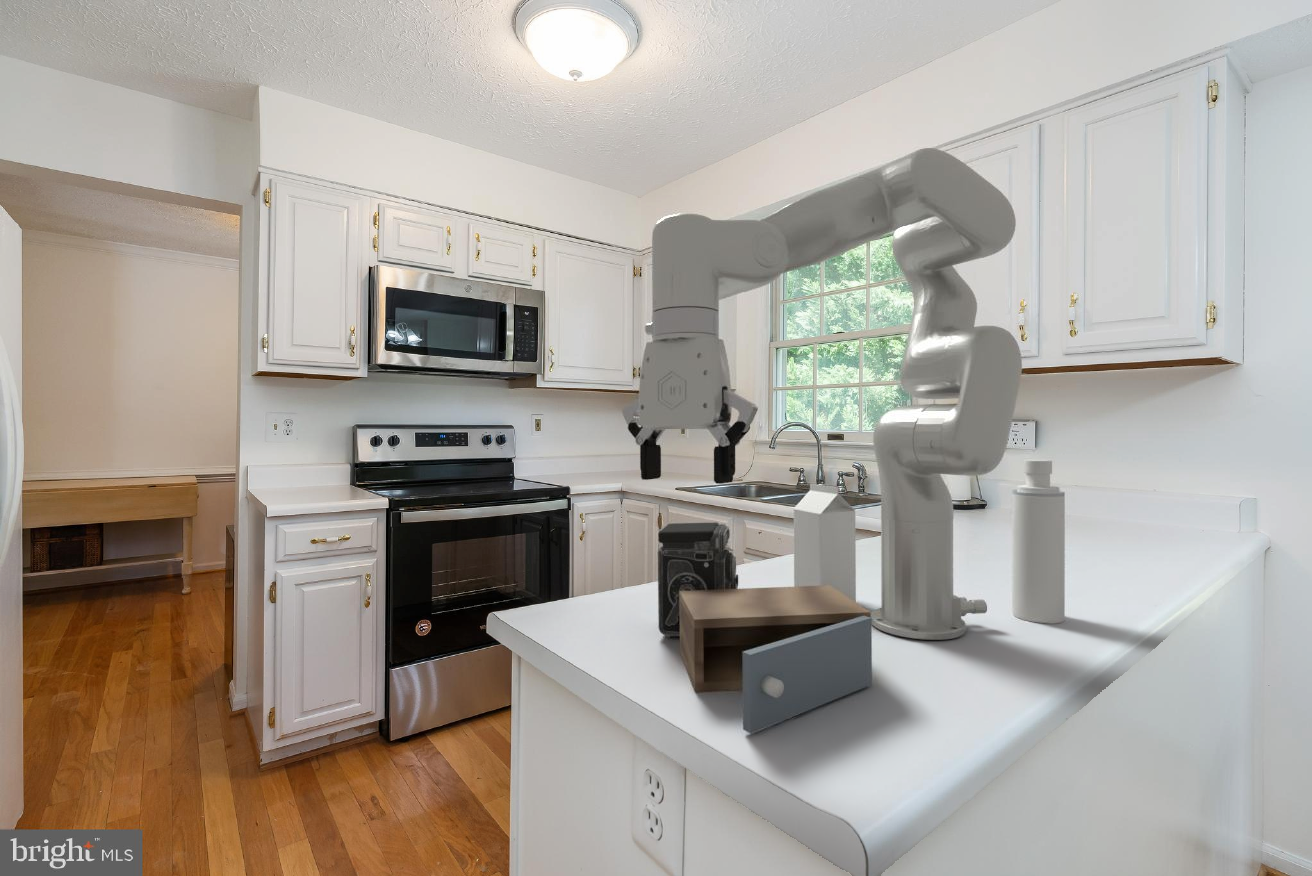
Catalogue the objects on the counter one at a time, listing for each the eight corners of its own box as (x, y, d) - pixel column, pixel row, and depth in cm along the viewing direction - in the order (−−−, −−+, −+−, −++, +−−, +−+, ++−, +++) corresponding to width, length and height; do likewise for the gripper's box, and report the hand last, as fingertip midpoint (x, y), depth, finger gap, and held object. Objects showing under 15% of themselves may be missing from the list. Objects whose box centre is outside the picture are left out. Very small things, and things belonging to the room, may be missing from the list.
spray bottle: (1036, 608, 98) (1036, 448, 98) (1075, 621, 92) (1076, 449, 92) (1001, 612, 97) (1001, 449, 96) (1039, 625, 90) (1039, 450, 90)
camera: (734, 646, 83) (733, 533, 83) (656, 642, 85) (655, 531, 85) (740, 622, 93) (739, 521, 93) (670, 618, 95) (669, 519, 95)
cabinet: (830, 645, 83) (830, 585, 83) (870, 682, 71) (870, 612, 71) (679, 653, 81) (679, 590, 81) (694, 692, 69) (694, 619, 69)
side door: (864, 681, 70) (863, 615, 70) (882, 688, 68) (882, 621, 68) (743, 729, 60) (742, 651, 60) (761, 739, 58) (760, 659, 58)
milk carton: (820, 608, 100) (820, 488, 99) (793, 597, 106) (793, 484, 106) (856, 603, 103) (855, 486, 102) (827, 592, 109) (827, 482, 109)
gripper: (605, 332, 73) (605, 479, 74) (738, 317, 63) (739, 487, 64) (643, 339, 79) (643, 475, 80) (770, 326, 70) (770, 481, 70)
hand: (686, 480), depth 72 cm, fingers open, 9 cm apart
